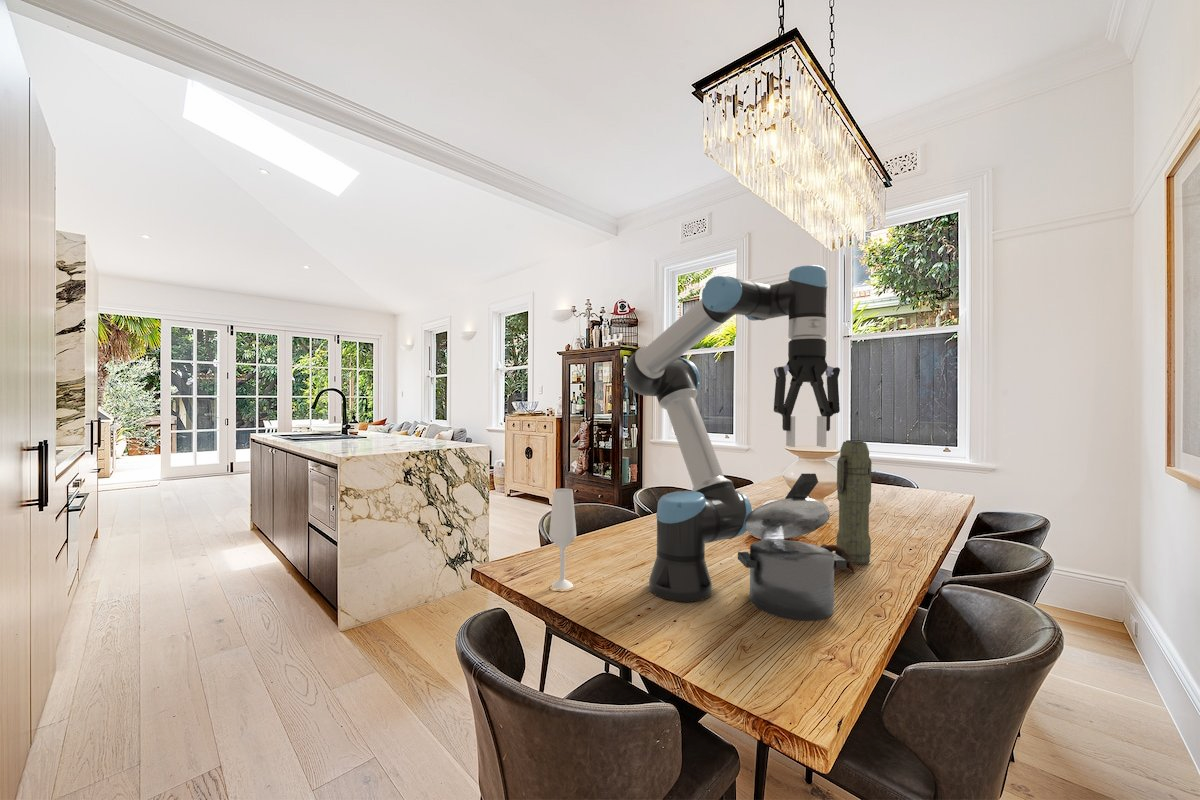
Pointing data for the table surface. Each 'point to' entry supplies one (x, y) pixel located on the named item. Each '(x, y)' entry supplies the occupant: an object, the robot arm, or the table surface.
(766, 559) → the pot
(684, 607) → the table surface
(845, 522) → the thermos
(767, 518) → the lid
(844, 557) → the pottery mug
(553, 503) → the champagne flute
